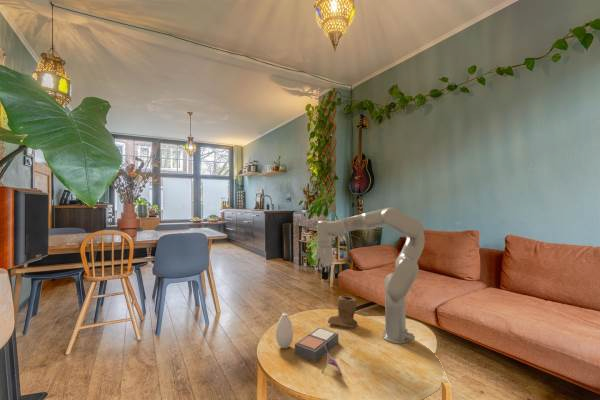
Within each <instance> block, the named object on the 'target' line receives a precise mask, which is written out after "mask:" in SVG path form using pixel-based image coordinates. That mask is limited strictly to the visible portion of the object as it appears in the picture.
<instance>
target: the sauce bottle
mask: <svg viewBox="0 0 600 400" xmlns="http://www.w3.org/2000/svg"><path fill="white" fill-rule="evenodd" d="M275 339H276V342H277V344H278V346H279V347H281V348H282V349H287V348H288V347H290V346H291V344H292V341H293V339H294V327H293V324H292V322H291V318H289V316H288V313H286V309H285V308H284V309H283V313H282V314H281V316H280V317H279V320H278V322H277V324H276V329H275Z"/></svg>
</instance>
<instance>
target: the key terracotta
mask: <svg viewBox="0 0 600 400" xmlns="http://www.w3.org/2000/svg"><path fill="white" fill-rule="evenodd" d="M304 338H305V337H304ZM323 343H324V341H322V340H319V339H316V338H313V337H310V336H308V337H307V338H305V339H304V340H303V341H301V342H300V343H299V345H302V346H305V347H307V348H310V349H313V350H316V349H317V348H318V347H320V346H321V345H322V344H323Z"/></svg>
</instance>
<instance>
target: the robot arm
mask: <svg viewBox="0 0 600 400" xmlns="http://www.w3.org/2000/svg"><path fill="white" fill-rule="evenodd" d="M385 226H389V227H391V228H392V229H394V230H396V231H397V232H399V233H401V234H404V235H405V237H406V238H405V243H404V245H403V246H402V249H401V251H400V252H399V254H398V256H397V258H396V260H395V262H394V263H395V264H394V266H395V269H394V271H393V272H391V273H389V274H387V275H385V276H386V277H385V278H384V306H385V307H384V308H385V309H384V310H385V311H384V315H385V316H384V318H385V319H384V321H385V324H384V325H385V328H384V329H385V330H383V332H382V333H381V336H382V338H383V339H384V340H385V341H387V342H389V343H392V344H399V345H400V344H401V345H403V344H406V343H408V342H409V341H410V340H412V341H415V339H416V337H415V335H414V333H412V332H408V328H407V327H406V325H407V323H406V320H407V319H406V296H407V295H408V294H409V292H410V290H411V288H412V287H413V284H415V283H414V282H415V281H416V279H417V277H418V275H419V267H420V266H419V265H418V264H419V263H418V260H419V259H420V257H421V254H422V253H423V250H424V248H425V243H426V242H425V240H426V239H425V234H424V225H423V223H422V222H421V221H420V220H418V219H415V218H413V217H412V216H410V215H408V214H406V213H404V212H402V211H400V210H398V209H397V208H395V207H384V208H382V209H377V210H373V211H368V212H364V213H360V214H357V215H354V216H350V217H345V218H340V219H337V220H335V221H331V220H318V221H317V225H316V227H317V230H316V231H317V234H316V235H317V236H316V237H317V247H316V252H315V266H316V267H318V270H319V271H320V273H321V280H325V281H327V280H329V272H330V267H331V266H332V264H333V258H334V257H333V256H334V255H333V236H342V235H344V234H345V233H348V232H352V231H357V230H358V231H359V230H364V231H365V230H366V231H367V230H373V229H377V228H381V227H385Z"/></svg>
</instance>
